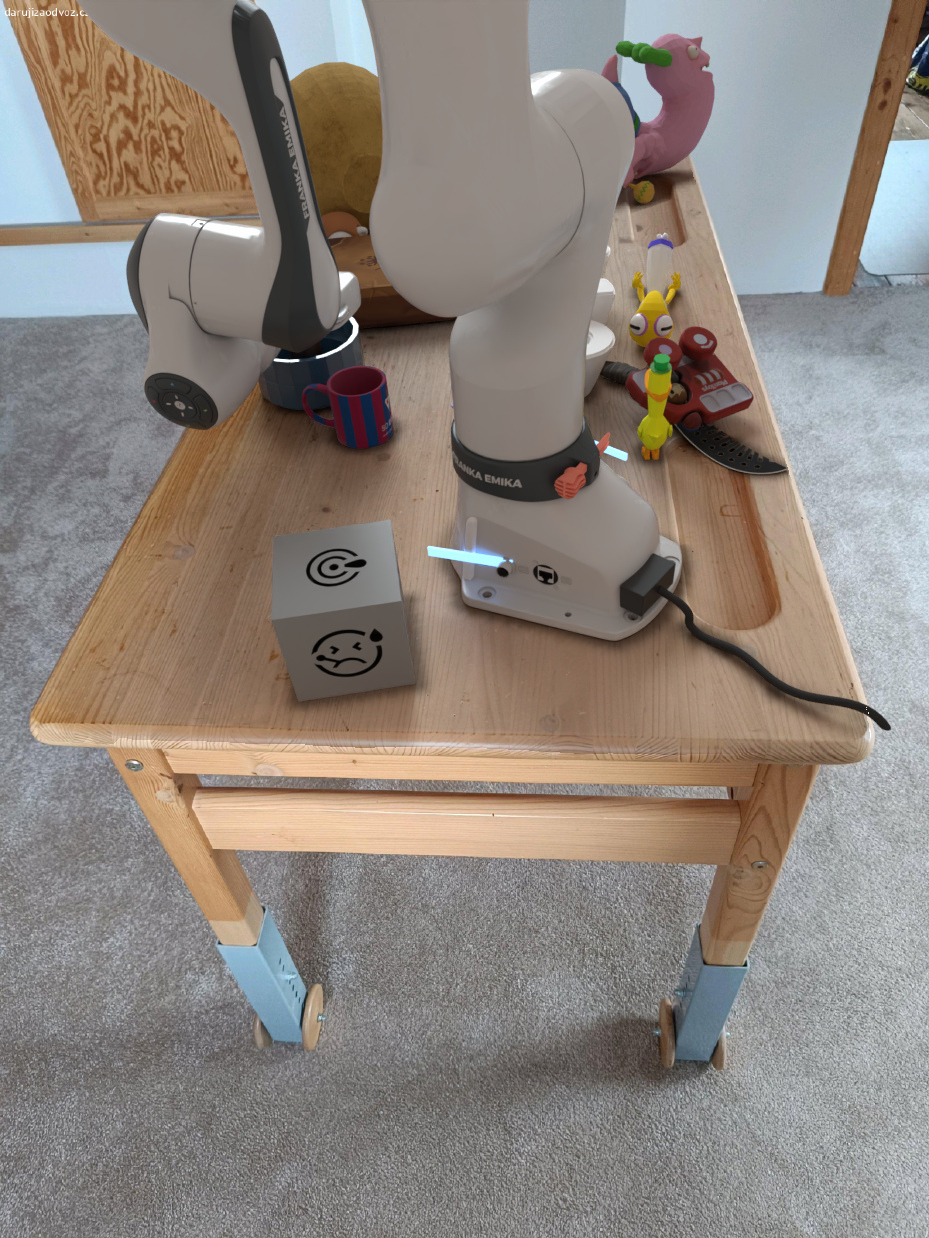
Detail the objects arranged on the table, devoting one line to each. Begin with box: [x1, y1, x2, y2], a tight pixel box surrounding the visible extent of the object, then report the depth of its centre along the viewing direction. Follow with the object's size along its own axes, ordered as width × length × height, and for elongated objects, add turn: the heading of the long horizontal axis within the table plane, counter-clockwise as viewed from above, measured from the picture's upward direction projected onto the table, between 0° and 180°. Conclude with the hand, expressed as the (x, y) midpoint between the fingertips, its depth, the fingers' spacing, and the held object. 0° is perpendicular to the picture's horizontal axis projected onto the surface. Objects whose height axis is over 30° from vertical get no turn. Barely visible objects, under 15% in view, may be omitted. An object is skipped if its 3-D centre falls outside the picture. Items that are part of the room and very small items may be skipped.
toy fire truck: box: [624, 325, 755, 431], centre depth 94 cm, size 7×12×10 cm
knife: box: [599, 360, 789, 475], centre depth 96 cm, size 28×2×5 cm
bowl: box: [257, 317, 366, 411], centre depth 105 cm, size 13×13×7 cm
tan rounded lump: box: [290, 61, 382, 231], centre depth 135 cm, size 24×24×30 cm
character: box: [628, 232, 682, 348], centre depth 110 cm, size 6×10×20 cm
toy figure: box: [636, 354, 673, 461], centre depth 88 cm, size 7×4×12 cm, turn 178°
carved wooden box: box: [328, 234, 457, 330], centre depth 120 cm, size 23×19×6 cm
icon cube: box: [270, 519, 416, 703], centre depth 71 cm, size 10×10×10 cm
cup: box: [302, 365, 395, 450], centre depth 97 cm, size 7×10×7 cm
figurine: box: [321, 211, 369, 239], centre depth 128 cm, size 9×9×12 cm
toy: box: [600, 33, 716, 205], centre depth 141 cm, size 24×24×30 cm
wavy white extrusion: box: [584, 244, 616, 398], centre depth 106 cm, size 35×16×11 cm, turn 172°
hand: (290, 265), depth 97 cm, fingers closed on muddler, 2 cm apart
